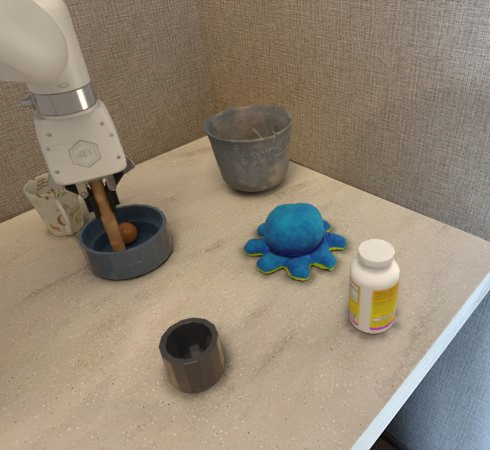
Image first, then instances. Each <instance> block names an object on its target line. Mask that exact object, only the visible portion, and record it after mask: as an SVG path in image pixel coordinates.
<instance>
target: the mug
mask: <svg viewBox="0 0 490 450" xmlns="http://www.w3.org/2000/svg"><path fill="white" fill-rule="evenodd" d="M48 174H49V172H47V173H42V174H40V175H37V176H36V177H34V178H32V179H30V180H29V181H28V182H26V184H25V185H24V186H23V193H24V194H25V196H26V198H27V199H28V200H29V202H30V203H31V205H32V206H33V208H34V210H35V211H36V212H37V214H38V215H39V217H40V218H41V220H42V221H43V223H44V224H45V226H46V227H47V229H48V230H49V231H50V233H51V234H52V235H53V236H56V237H66V236H72V235H74V234H75V233H77V232H78V231H80V230H81V228H82V227H83V226H84V225H85V220H84V214H83V210H82V208H81V202H80V196H79V195H78V194H75V193H73V192H70V191H68V190H66V189H63V190H61V189H50V188H49V187H48Z"/></svg>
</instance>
